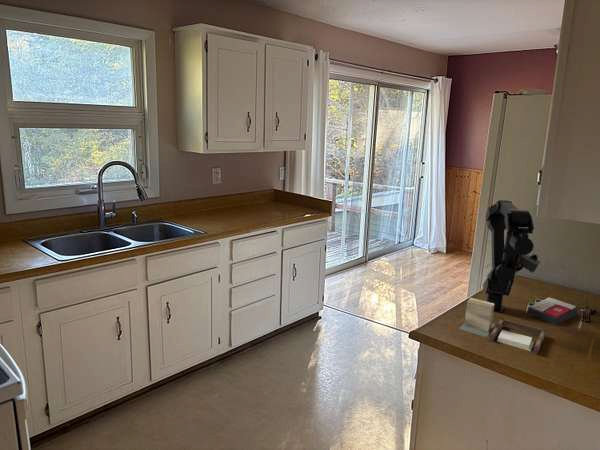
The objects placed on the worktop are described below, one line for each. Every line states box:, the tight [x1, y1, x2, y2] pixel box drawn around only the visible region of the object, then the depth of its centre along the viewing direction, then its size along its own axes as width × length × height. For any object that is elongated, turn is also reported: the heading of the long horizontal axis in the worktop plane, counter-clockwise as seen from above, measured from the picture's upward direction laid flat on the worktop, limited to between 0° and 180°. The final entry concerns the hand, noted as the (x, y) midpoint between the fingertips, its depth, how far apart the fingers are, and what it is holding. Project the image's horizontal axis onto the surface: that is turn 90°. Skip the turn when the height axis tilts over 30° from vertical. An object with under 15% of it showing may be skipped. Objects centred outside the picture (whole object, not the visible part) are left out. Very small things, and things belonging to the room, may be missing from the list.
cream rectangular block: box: [463, 297, 495, 332], centre depth 158 cm, size 4×8×9 cm, turn 54°
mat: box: [459, 322, 496, 338], centre depth 159 cm, size 12×9×1 cm
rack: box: [489, 318, 547, 356], centre depth 151 cm, size 15×14×3 cm
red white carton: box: [527, 297, 578, 326], centre depth 172 cm, size 11×4×15 cm
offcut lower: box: [496, 339, 535, 352], centre depth 149 cm, size 7×10×1 cm
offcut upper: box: [497, 329, 533, 350], centre depth 149 cm, size 6×9×1 cm
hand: (507, 289), depth 160 cm, fingers open, 9 cm apart
